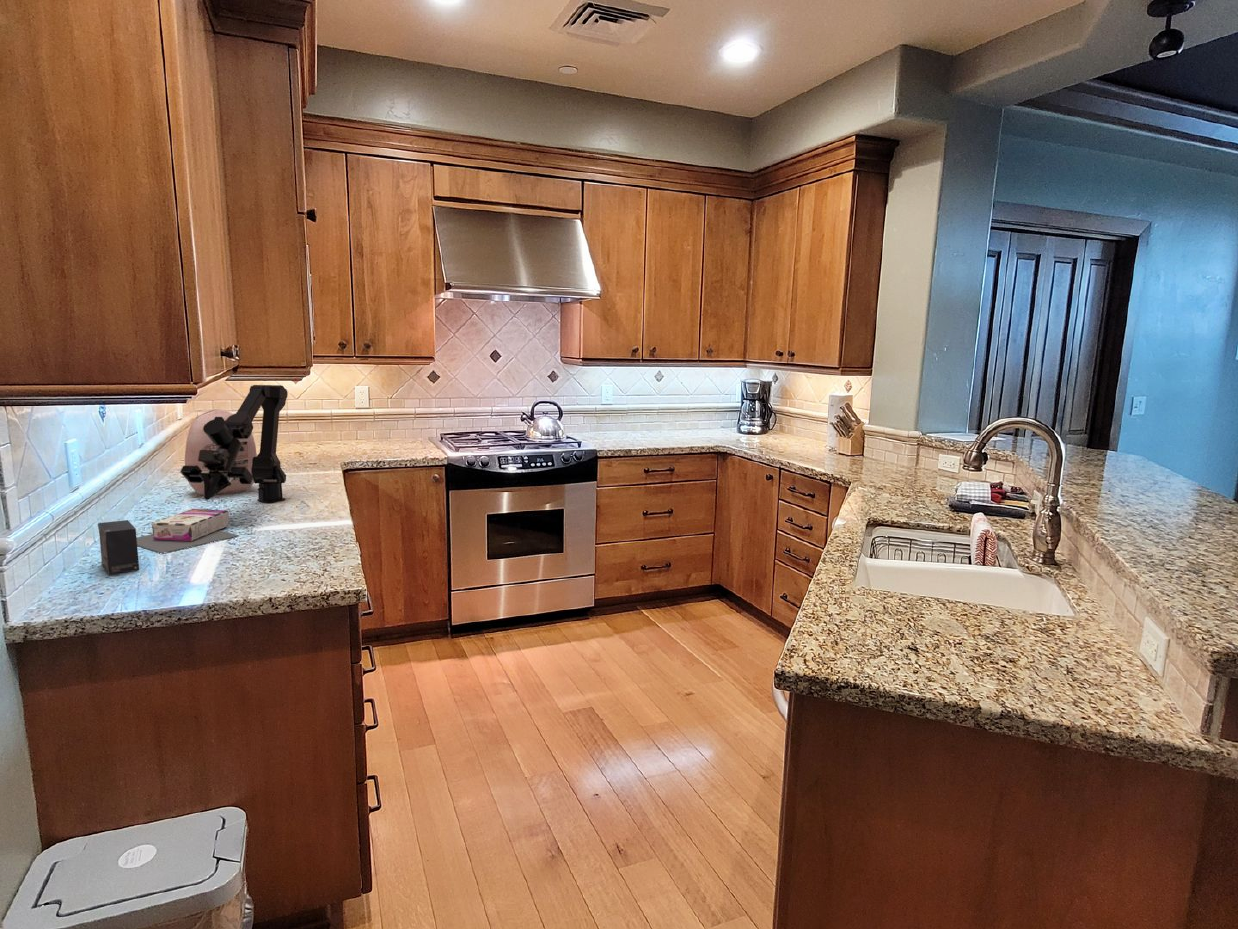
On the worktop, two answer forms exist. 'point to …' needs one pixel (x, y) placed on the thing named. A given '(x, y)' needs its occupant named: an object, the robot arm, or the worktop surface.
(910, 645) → the worktop surface
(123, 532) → the small box
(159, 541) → the mat
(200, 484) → the packaged food
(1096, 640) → the worktop surface
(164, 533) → the candy bar box
